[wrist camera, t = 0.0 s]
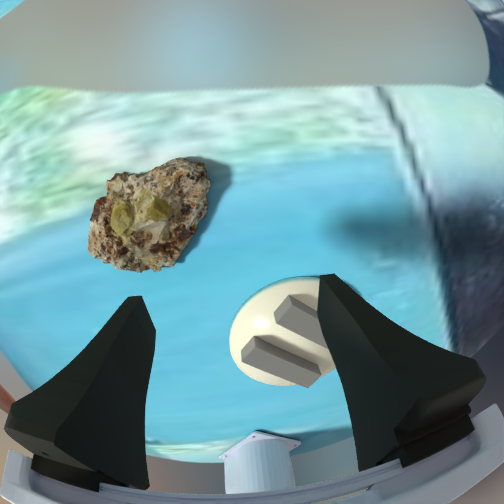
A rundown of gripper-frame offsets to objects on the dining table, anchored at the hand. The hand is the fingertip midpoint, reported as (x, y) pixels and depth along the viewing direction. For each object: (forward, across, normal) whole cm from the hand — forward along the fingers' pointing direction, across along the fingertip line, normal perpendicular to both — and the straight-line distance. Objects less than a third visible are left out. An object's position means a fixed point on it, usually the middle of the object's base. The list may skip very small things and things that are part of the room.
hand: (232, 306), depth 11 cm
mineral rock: (+11, +6, 0) cm, 13 cm away
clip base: (+9, -5, +12) cm, 16 cm away
